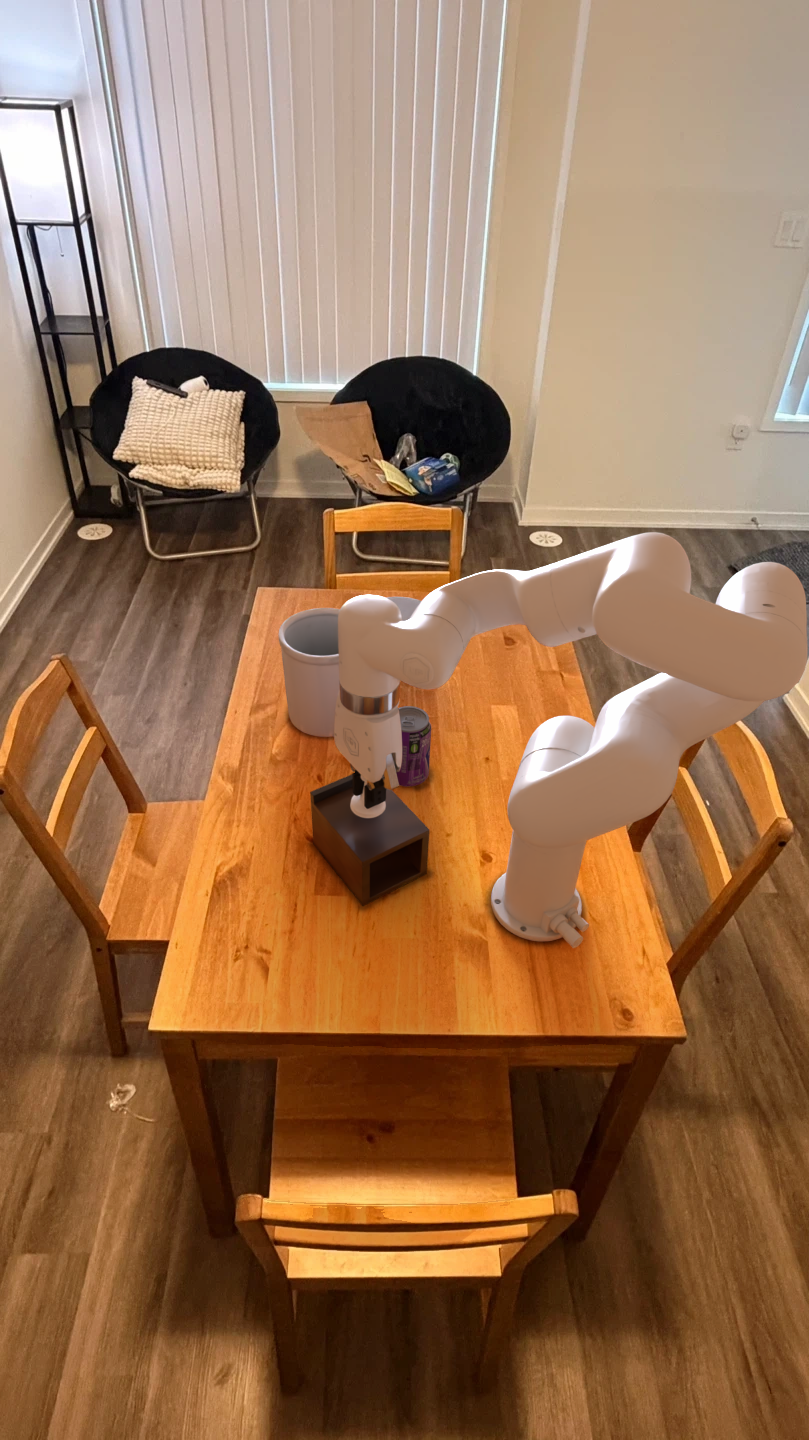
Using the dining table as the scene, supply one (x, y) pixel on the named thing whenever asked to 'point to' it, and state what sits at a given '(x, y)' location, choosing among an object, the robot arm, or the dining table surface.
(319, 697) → the utensil holder
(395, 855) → the open box
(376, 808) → the chess piece
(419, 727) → the beverage can
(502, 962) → the dining table surface
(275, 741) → the dining table surface
